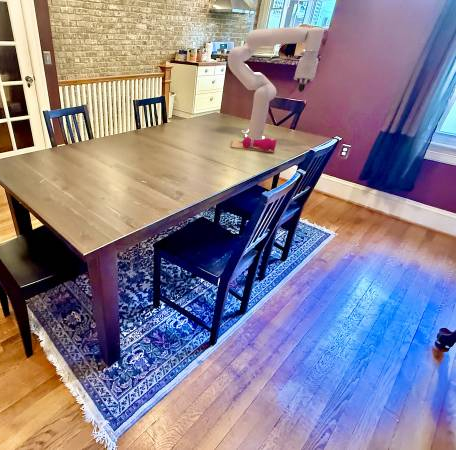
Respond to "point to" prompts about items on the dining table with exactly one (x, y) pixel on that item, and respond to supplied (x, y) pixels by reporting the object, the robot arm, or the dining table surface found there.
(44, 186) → the dining table surface
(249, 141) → the pepper mill
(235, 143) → the cork mat
